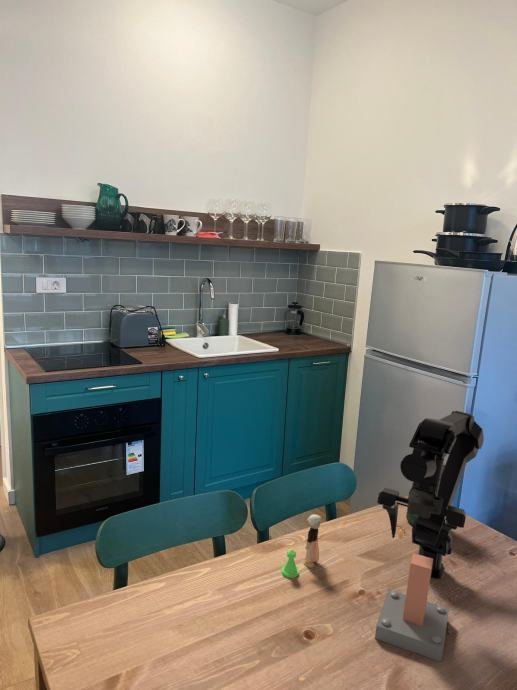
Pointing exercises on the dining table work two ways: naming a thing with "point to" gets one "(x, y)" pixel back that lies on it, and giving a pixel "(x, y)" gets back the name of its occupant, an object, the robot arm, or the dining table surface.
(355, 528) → the dining table surface
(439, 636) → the base brick
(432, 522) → the robot arm
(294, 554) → the game piece
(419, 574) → the pillar brick
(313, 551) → the grandmother figurine
